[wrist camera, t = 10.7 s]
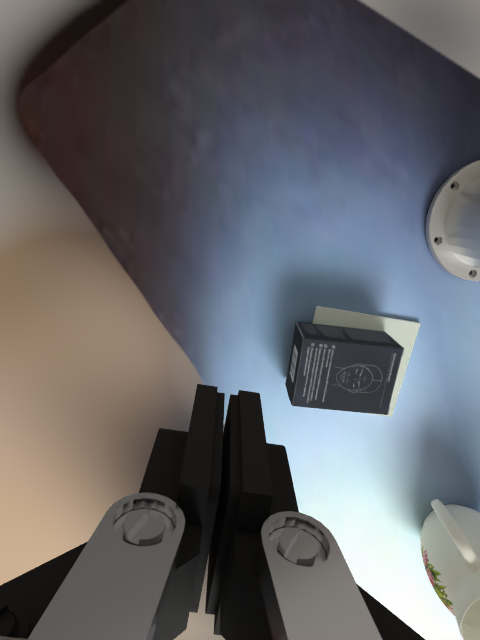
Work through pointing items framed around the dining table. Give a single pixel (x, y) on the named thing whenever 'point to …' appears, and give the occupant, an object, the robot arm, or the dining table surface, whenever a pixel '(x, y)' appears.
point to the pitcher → (454, 562)
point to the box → (342, 368)
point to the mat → (394, 327)
